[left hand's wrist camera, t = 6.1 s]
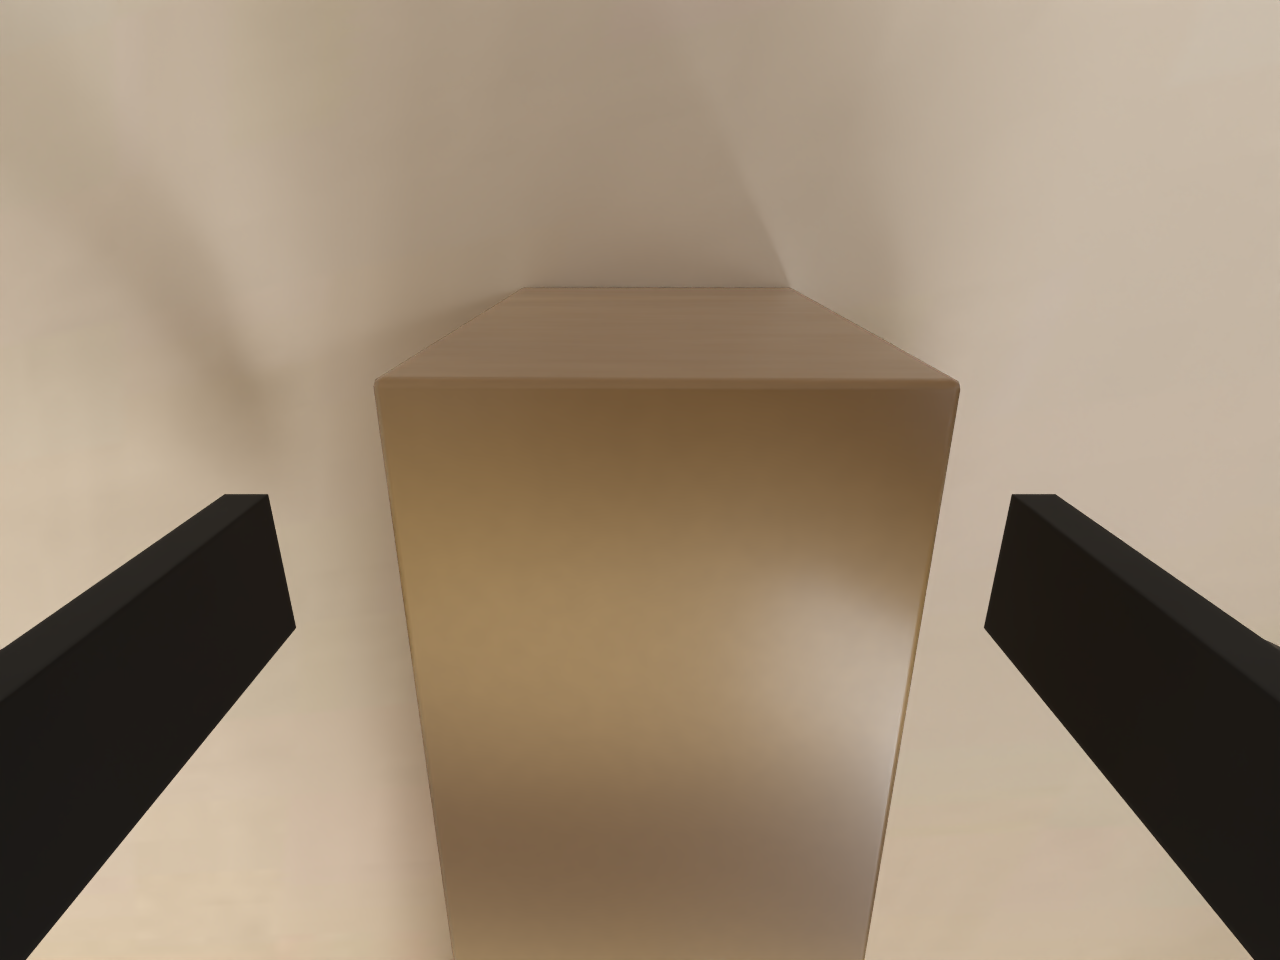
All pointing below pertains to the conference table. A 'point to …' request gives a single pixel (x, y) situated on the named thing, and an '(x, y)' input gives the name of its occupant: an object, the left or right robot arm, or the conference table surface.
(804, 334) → the beam
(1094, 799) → the conference table surface
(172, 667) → the left robot arm
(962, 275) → the conference table surface
